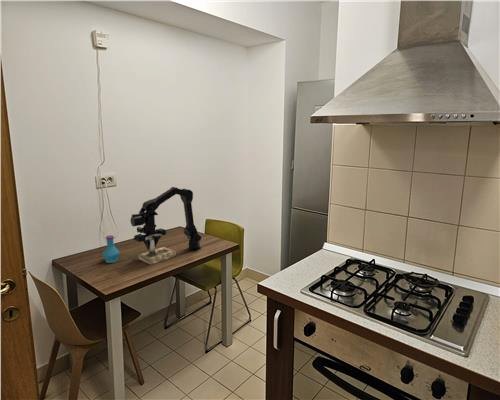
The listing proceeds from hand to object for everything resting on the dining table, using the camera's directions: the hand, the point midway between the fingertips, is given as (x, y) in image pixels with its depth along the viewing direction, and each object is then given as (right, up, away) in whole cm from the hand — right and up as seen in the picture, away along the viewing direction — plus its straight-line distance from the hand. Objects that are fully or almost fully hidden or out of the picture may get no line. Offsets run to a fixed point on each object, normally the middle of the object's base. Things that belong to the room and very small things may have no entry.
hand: (151, 248), depth 204 cm
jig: (+2, -6, +4) cm, 8 cm away
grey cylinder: (0, -3, +1) cm, 3 cm away
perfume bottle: (-23, -7, 0) cm, 24 cm away
